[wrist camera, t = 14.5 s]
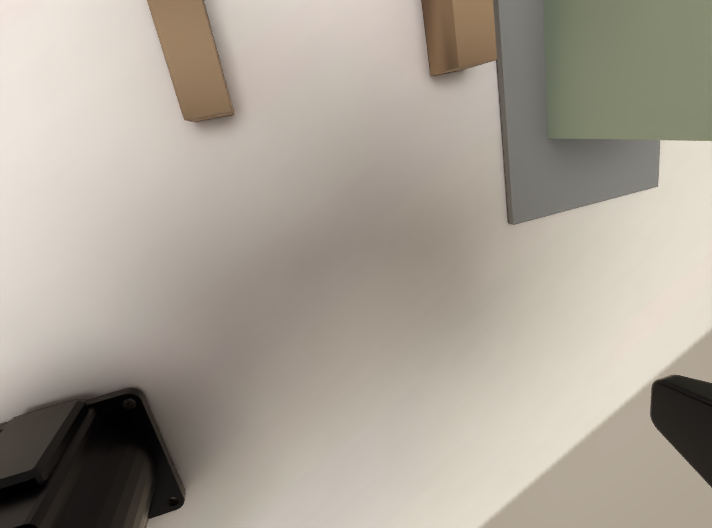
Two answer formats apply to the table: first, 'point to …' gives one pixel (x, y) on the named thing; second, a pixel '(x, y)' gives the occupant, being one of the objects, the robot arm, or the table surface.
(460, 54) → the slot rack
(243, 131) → the table surface
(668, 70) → the green block
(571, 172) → the floor mat
